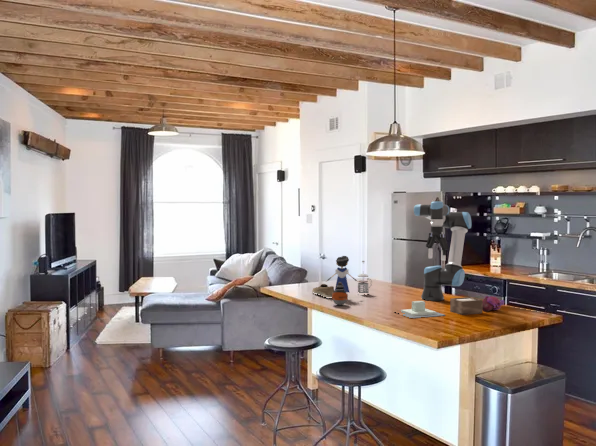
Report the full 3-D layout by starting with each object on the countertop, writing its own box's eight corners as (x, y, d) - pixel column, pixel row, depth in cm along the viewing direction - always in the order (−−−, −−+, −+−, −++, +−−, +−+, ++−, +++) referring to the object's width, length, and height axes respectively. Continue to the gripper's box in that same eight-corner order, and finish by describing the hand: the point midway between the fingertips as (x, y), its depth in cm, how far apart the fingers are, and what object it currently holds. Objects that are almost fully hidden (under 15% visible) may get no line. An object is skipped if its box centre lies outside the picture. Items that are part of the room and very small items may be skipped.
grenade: (347, 307, 329) (347, 283, 328) (331, 306, 331) (331, 283, 331) (348, 304, 340) (348, 281, 339) (333, 303, 342) (333, 281, 341)
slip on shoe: (310, 293, 385) (310, 281, 385) (324, 292, 389) (324, 280, 388) (323, 299, 357) (323, 287, 357) (338, 298, 360) (338, 286, 360)
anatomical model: (484, 311, 312) (508, 307, 312) (480, 296, 314) (504, 292, 314) (478, 313, 323) (501, 309, 324) (474, 298, 326) (498, 294, 326)
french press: (360, 292, 386) (360, 259, 385) (374, 294, 379) (374, 260, 378) (354, 294, 378) (354, 260, 377) (368, 296, 371) (368, 261, 370)
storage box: (450, 311, 314) (450, 298, 314) (470, 309, 320) (470, 297, 319) (461, 314, 304) (461, 301, 304) (482, 313, 309) (482, 300, 309)
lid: (400, 312, 310) (401, 300, 310) (424, 310, 316) (424, 299, 315) (412, 316, 298) (412, 304, 298) (436, 314, 304) (436, 302, 304)
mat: (392, 312, 312) (392, 311, 312) (425, 309, 321) (425, 308, 321) (410, 318, 293) (410, 317, 293) (445, 315, 302) (445, 314, 302)
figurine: (357, 297, 365) (357, 255, 364) (358, 299, 356) (358, 256, 355) (325, 297, 366) (325, 255, 365) (325, 299, 357) (325, 256, 356)
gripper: (420, 225, 334) (420, 257, 335) (443, 226, 311) (443, 261, 311) (430, 225, 337) (430, 257, 337) (454, 226, 313) (454, 261, 314)
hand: (436, 259), depth 324 cm, fingers open, 13 cm apart
